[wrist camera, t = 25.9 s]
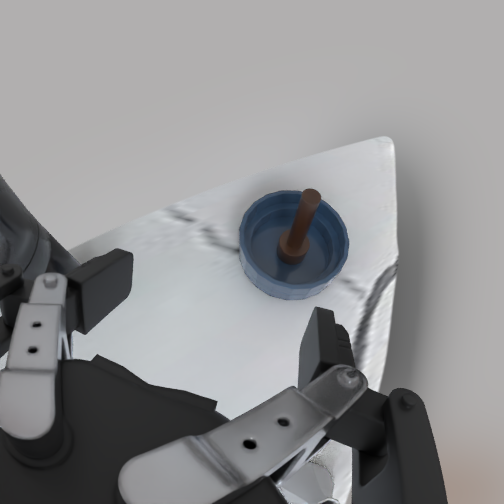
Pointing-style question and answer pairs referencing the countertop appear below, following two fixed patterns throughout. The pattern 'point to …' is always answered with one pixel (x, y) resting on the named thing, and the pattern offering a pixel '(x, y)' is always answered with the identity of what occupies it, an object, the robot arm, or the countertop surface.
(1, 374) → the robot arm
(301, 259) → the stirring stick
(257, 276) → the mixing bowl
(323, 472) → the flask
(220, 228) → the countertop surface
